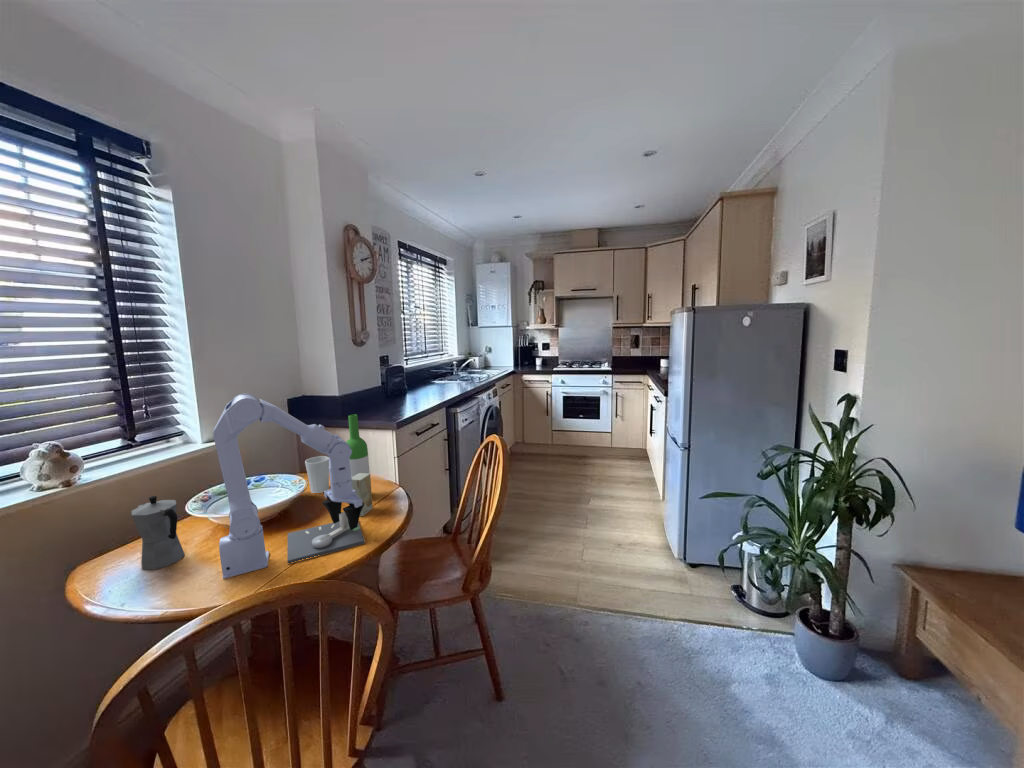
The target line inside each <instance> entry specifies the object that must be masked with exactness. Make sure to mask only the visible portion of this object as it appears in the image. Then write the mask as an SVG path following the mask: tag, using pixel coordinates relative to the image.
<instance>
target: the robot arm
mask: <svg viewBox="0 0 1024 768" xmlns="http://www.w3.org/2000/svg"><path fill="white" fill-rule="evenodd" d="M258 420H259V421H260V423H271V422H272V423H275V424H277V425H279V426H281V427H283V428H285V429H286V430H289V431H291V432H293V433H294V434H297V435H299V436H300V441H301V443H302V444H305V445H306V446H309V447H310V448H311V449H313V450H315V451H317V452H319V453H321V454H324V455H326V456H327V457H329V458H328V459H329V486H330V488H329V490H326V491H324V493H323V495H324V498H325V500H323V501H322V504H323V506H325V508H326V509H327V512H328V513H329V516H330V519H331V521H332V523H337V522H339V514H340V513H342V510H343V512H345V514H346V516H347V519H348V524H349V528H350V529H351V530H352V529H354V528H356V527H358V523H359V521H360V517H361V516H360V513H361V511H362V508H363V507H364V503H363V502H362V499H361V498H359V497H358V496H357V495H356V494H355V493H356V490H353V487H352V476H351V465H350V456H351V453H352V450H351V448H350V446H349V445H348V444H347V443H346V442H347V441H345V439H342V438H341V437H340V436H339V435H338V434H336V433H335V434H333V433H332V432H330V431H327V430H326V429H325V426H324V425H322V424H318V425H317V424H316V423H313V424H306V423H304V422H303V421H301V420H299V419H297V418H296V417H294V416H292V415H291V414H290V413H288V412H286V411H284V410H283V409H282V408H280V407H278V406H277V405H275V404H272V403H270V402H269V401H266V400H264V399H261V398H257V397H256V396H255V395H253V394H251V393H240V394H238V395H236V396H235V397H234V398H232V399H231V400H230V401H229V402H227V404H226V405H225V407H224V410H223V411H222V413H221V415H220V417H219V419H218V421H217V423H216V424H215V426H214V428H213V430H212V434H213V441H214V445H215V448H216V453H217V457H218V462H219V465H220V471H221V473H222V478H223V483H224V486H225V487H224V488H225V491H226V496H227V499H228V500H227V501H228V503H229V505H228V506H229V513H228V518H229V533H228V535H225V536H222V537H220V539H219V543H218V545H219V547H218V549H219V557H220V559H219V560H220V566H221V571H222V572H221V573H222V579H228V578H232V577H234V576H240V575H243V574H246V573H251V572H254V571H258V570H262V569H265V568H268V566H269V558H270V557H269V556H270V551H268V550H266V545H265V544H266V543H265V537H264V536H265V535H264V528H263V524H261V521H260V518H259V513H258V512H259V510H258V509H259V508H258V506H257V505H256V504H255V503H254V502H253V501H252V498H251V494H250V490H249V487H248V486H249V485H248V482H247V477H246V473H245V468H244V463H243V459H242V455H241V450H240V445H239V441H238V436H239V435H241V433H242V432H243V430H245V428H247V427H249V426H251V425H253V424H254V423H255V422H257V421H258ZM344 503H346V504H348V505H347V506H345V507H343V508H342V505H343V504H344Z"/></svg>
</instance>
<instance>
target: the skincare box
mask: <svg viewBox="0 0 1024 768" xmlns="http://www.w3.org/2000/svg"><path fill="white" fill-rule="evenodd" d="M371 479H372V478H371V473H370V474H367V473H358V474H357V475H355V476H353V477H352V487H353V490H356V493H355V494H356V495H357V496H358V497H359V498H361V499H362V502H363V503H364V507H363V508H362V511H361V513H360V516H359V517H364V516H365V515H366V514H368V513H369V512H370V511H371V510H373V508H374V507H373V495H372V482H371V481H372V480H371Z"/></svg>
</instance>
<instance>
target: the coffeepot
mask: <svg viewBox="0 0 1024 768" xmlns="http://www.w3.org/2000/svg"><path fill="white" fill-rule="evenodd" d="M148 500H149V502H145V503H142V504H140V505H137V508H134V509H132V510H131V518H132V520H133V522H134V523H135V524H134V525H135V526H136V529H137V531H138V534H139V536H140V538H141V540H142V542H141V559H140V560H141V563H140V565H141V570H145V571H154V570H159V569H162V568H166V567H168V566H171V565H174V564H175V563H178V562H179V561H180V560H181V559H182V558H183V557H184V556H185V552H184V548H183V547H182V544H181V542H180V539H179V536H178V533H177V530H178V529H177V526H178V514H177V508H178V507H177V501H176V499H162V500H157V495H151V496H149V497H148Z"/></svg>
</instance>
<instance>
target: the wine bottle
mask: <svg viewBox="0 0 1024 768" xmlns="http://www.w3.org/2000/svg"><path fill="white" fill-rule="evenodd" d="M358 419H359V418H358V414H356V413H355V414H354V413H353V414H349V415H348V419H347V420H348V427H349V429H348V430H349V431H348V432H349V439H347V441H345V442H346V443H347V444H348V445H349V446H350V448H351V450H352V453H351V456H350V465H351V476H352V477H353V476H355V475H357V474H358V473H367V474H370V475H371V472H370V463H369V462H370V461H369V452H368V451H369V450H368V444H367V442H366V441H365V439H364V438H362V437H360V430H359V429H360V428H359V420H358Z"/></svg>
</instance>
